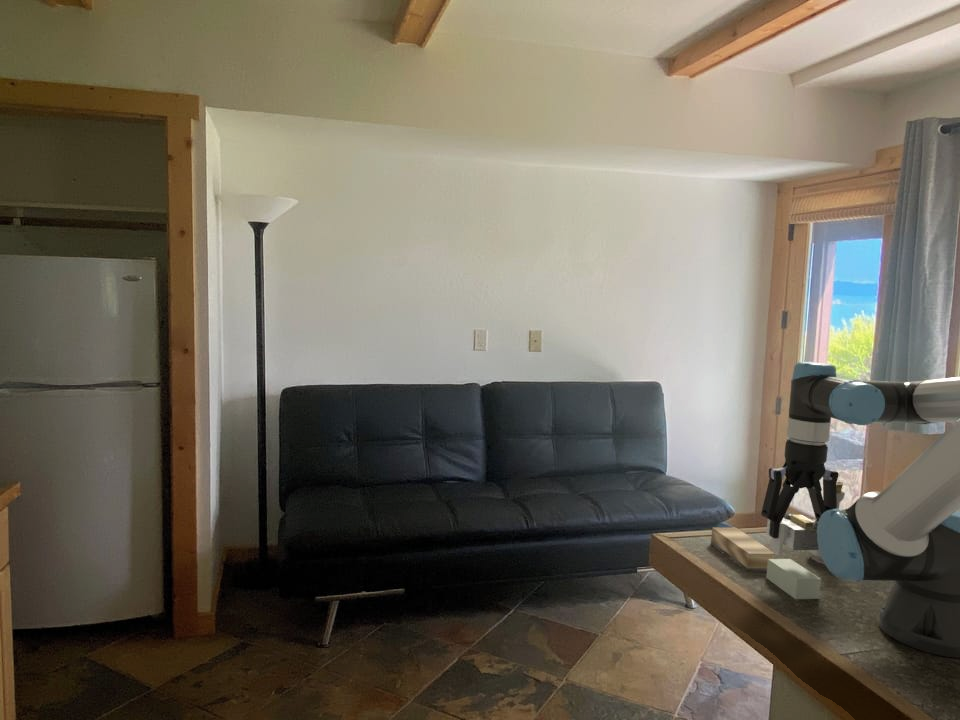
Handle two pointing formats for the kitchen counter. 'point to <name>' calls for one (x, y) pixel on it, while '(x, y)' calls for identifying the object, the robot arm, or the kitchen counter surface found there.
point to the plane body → (742, 549)
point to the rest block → (793, 579)
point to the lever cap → (798, 532)
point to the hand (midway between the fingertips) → (795, 553)
